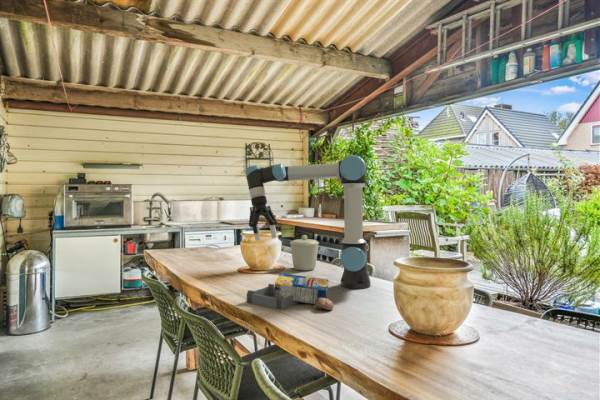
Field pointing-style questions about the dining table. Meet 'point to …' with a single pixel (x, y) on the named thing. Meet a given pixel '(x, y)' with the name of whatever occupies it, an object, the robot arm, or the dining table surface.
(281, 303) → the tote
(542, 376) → the dining table surface
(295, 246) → the canister
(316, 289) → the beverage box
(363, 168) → the robot arm
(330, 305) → the mushroom
